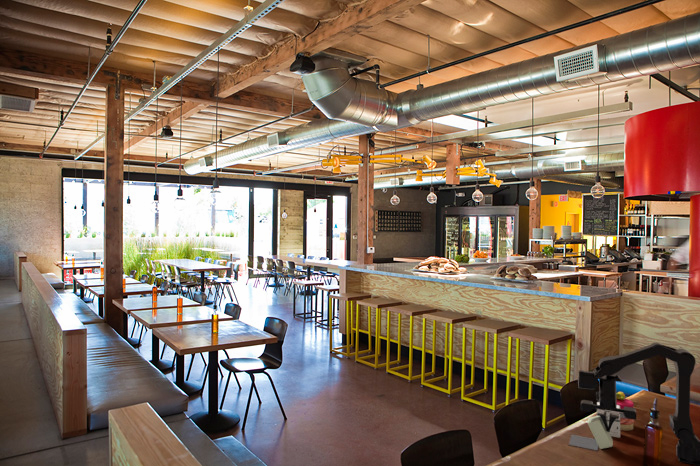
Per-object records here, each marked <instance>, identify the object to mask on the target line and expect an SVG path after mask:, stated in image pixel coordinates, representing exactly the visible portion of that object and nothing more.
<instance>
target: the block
mask: <svg viewBox="0 0 700 466" xmlns="http://www.w3.org/2000/svg"><path fill="white" fill-rule="evenodd" d="M587 425H588V427H589V429H590V432H591V434H592V435H593V437H594V439H596V442H597V444H598V449H599V450H602V449H603V450H604V449H607V448H612V447H613V442H614V440H613V437H612V436H610V434H609V432H607V431H606V428H605V425H604V423H603V421H602V419H601V417H600V416H597V415H596V416H591V417H588V420H587Z"/></svg>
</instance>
